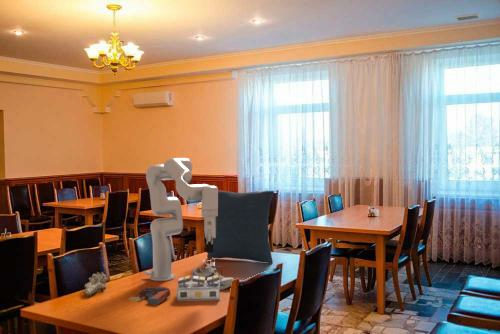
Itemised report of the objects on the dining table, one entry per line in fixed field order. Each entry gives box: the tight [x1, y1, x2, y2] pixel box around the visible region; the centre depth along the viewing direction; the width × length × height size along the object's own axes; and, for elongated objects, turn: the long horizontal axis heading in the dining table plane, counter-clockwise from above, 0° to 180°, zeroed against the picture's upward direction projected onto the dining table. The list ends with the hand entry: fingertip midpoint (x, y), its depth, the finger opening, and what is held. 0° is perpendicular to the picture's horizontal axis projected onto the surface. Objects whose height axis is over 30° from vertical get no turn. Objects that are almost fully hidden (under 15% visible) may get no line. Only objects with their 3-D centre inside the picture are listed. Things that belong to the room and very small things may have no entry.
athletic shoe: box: [191, 264, 235, 291], centre depth 240 cm, size 10×23×12 cm, turn 77°
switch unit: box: [176, 280, 221, 302], centre depth 222 cm, size 19×12×7 cm, turn 93°
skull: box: [84, 271, 109, 297], centre depth 232 cm, size 9×18×10 cm
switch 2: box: [192, 276, 205, 283], centre depth 222 cm, size 6×5×2 cm
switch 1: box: [177, 275, 192, 285], centre depth 222 cm, size 6×5×2 cm
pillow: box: [206, 190, 275, 264], centre depth 292 cm, size 44×16×44 cm, turn 70°
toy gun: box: [128, 286, 171, 305], centre depth 221 cm, size 18×5×15 cm
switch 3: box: [207, 275, 219, 284], centre depth 222 cm, size 6×5×2 cm
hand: (209, 252), depth 223 cm, fingers closed
